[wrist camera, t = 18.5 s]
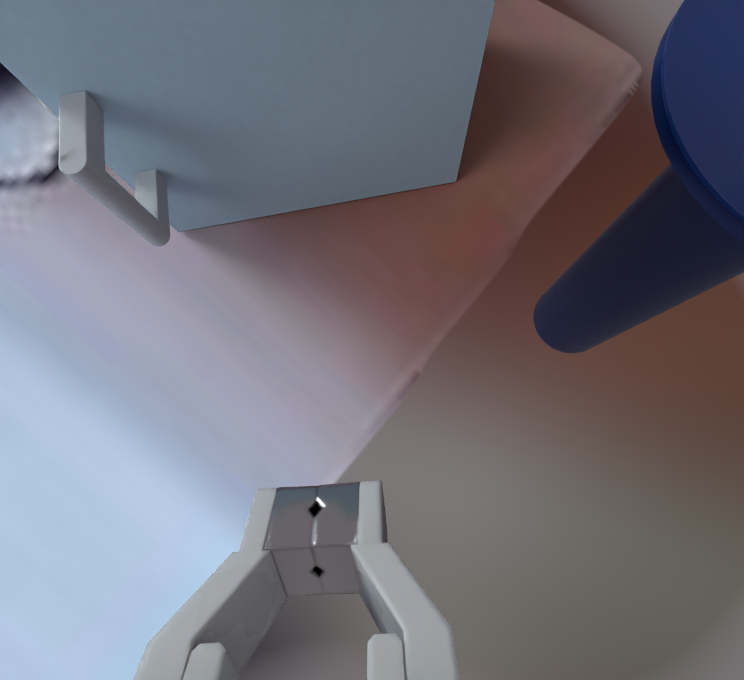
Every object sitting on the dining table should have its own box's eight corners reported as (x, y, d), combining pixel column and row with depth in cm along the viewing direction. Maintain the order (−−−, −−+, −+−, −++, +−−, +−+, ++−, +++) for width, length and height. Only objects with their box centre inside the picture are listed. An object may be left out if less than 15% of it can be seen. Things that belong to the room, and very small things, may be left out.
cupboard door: (468, 234, 39) (567, -64, 16) (181, 285, 40) (-119, 68, 17) (454, 172, 41) (525, -182, 18) (177, 222, 41) (-104, -58, 18)
